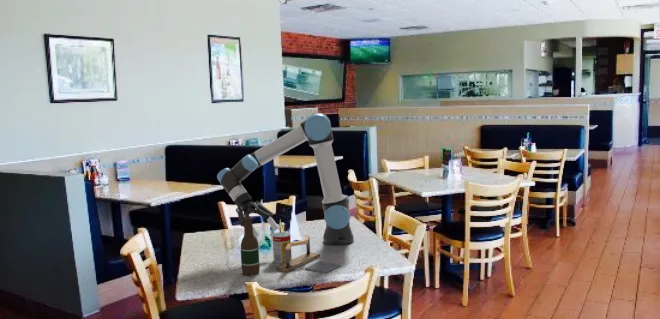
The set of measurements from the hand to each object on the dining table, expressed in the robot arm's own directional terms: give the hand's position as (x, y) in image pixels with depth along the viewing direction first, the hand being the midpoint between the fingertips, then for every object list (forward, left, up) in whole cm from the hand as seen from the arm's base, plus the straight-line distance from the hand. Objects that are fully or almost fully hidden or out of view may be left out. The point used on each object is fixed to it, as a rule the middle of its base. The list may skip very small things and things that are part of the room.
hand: (267, 232), depth 257 cm
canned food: (-1, +8, -12) cm, 14 cm away
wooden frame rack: (-1, +17, -12) cm, 21 cm away
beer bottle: (+19, +7, -12) cm, 24 cm away
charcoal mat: (-1, +30, -12) cm, 32 cm away
